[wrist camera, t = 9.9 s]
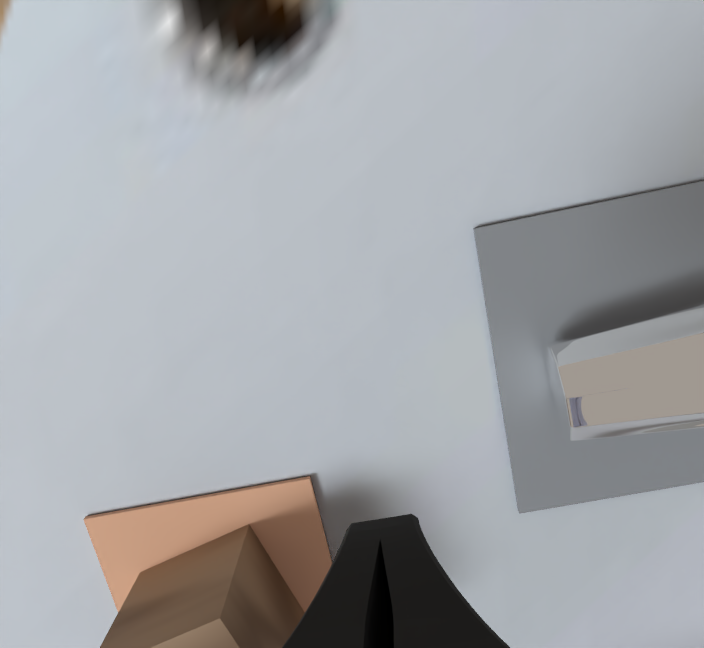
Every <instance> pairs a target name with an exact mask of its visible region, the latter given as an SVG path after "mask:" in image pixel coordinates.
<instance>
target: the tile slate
mask: <svg viewBox="0 0 704 648" xmlns="http://www.w3.org/2000/svg"><path fill="white" fill-rule="evenodd" d="M474 235H475V241H476V247H477V254H478V260H479V266H480V272H481V279H482V285H483V291H484V298H485V304H486V310H487V316H488V323H489V329H490V335H491V342H492V348H493V354H494V361H495V367H496V373H497V379H498V386H499V392H500V398H501V405H502V411H503V417H504V424H505V430H506V436H507V442H508V449H509V455H510V461H511V468H512V474H513V480H514V487H515V493H516V499H517V505H518V511H519V513H525V512H531V511H537V510H543V509H549V508H555V507H560V506H566V505H572V504H578V503H584V502H590V501H596V500H601V499H607V498H613V497H619V496H625V495H631V494H637V493H642V492H648V491H654V490H660V489H666V488H672V487H677V486H683V485H689V484H695V483H701V482H704V428H697V429H687V430H677V431H667V432H657V433H647V434H637V435H628V436H618V437H608V438H598V439H588V440H577V441H571V440H570V439H569V438H568V437H567V436H566V435H565V433H564V431H563V428H562V425H561V423H560V420H559V417H558V414H557V411H556V407H555V403H554V399H553V395H552V391H551V388H550V383H549V377H548V371H547V365H546V348H545V346H546V344H549V343H552V342H555V341H559V340H562V339H566V338H570V337H574V336H577V335H581V334H585V333H588V332H592V331H596V330H600V329H603V328H607V327H611V326H614V325H618V324H622V323H625V322H629V321H633V320H637V319H640V318H644V317H648V316H651V315H655V314H659V313H662V312H666V311H670V310H673V309H677V308H681V307H684V306H688V305H691V304H695V303H698V302H701V301H704V180H703V181H698V182H694V183H689V184H684V185H679V186H674V187H669V188H665V189H660V190H655V191H650V192H645V193H640V194H636V195H631V196H626V197H621V198H616V199H611V200H607V201H602V202H597V203H592V204H587V205H583V206H578V207H573V208H568V209H563V210H558V211H554V212H549V213H544V214H539V215H534V216H529V217H525V218H520V219H515V220H510V221H505V222H501V223H496V224H491V225H486V226H481V227H476V228H474Z"/></svg>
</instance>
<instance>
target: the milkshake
mask: <svg viewBox="0 0 704 648" xmlns="http://www.w3.org/2000/svg"><path fill="white" fill-rule="evenodd" d="M545 348H546V365H547V371H548V377H549V383H550V388H551V391H552V395H553V399H554V403H555V407H556V411H557V414H558V417H559V420H560V423H561V425H562V428H563V431H564V433H565V435H566V436H567V437H568V438H569V439H570V440H571V441H577V440H588V439H598V438H608V437H618V436H628V435H637V434H647V433H657V432H667V431H677V430H687V429H697V428H704V301H701V302H698V303H695V304H691V305H688V306H684V307H681V308H677V309H673V310H670V311H666V312H662V313H659V314H655V315H651V316H648V317H644V318H640V319H637V320H633V321H629V322H625V323H622V324H618V325H614V326H611V327H607V328H603V329H600V330H596V331H592V332H588V333H585V334H581V335H577V336H574V337H570V338H566V339H562V340H559V341H555V342H552V343H549V344H546V346H545Z"/></svg>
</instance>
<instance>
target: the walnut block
mask: <svg viewBox="0 0 704 648" xmlns="http://www.w3.org/2000/svg"><path fill="white" fill-rule="evenodd" d="M304 613H305V612H304V611H303V609H302V607H301V606H300V604H299V603H298V601H297V599H296V598H295V596H294V595H293V593H292V591H291V590H290V588H289V587H288V585H287V584H286V582H285V580H284V579H283V577H282V576H281V574H280V572H279V571H278V569H277V568H276V566H275V564H274V563H273V561H272V560H271V558H270V556H269V555H268V553H267V552H266V550H265V548H264V547H263V545H262V544H261V542H260V540H259V539H258V537H257V536H256V534H255V533H254V531H253V529H252V528H251V526H250V525H249V524H248V525H245V526H243V527H241V528H239V529H236V530H234V531H232V532H230V533H227V534H225V535H223V536H221V537H218V538H216V539H214V540H212V541H209V542H207V543H205V544H203V545H200V546H198V547H196V548H194V549H191V550H189V551H187V552H185V553H182V554H180V555H178V556H176V557H173V558H171V559H169V560H167V561H164V562H162V563H160V564H158V565H155V566H153V567H151V568H149V569H146V570H144V571H142V572H140V573H139V575H138V577H137V579H136V581H135V583H134V584H133V586H132V588H131V590H130V592H129V594H128V596H127V598H126V599H125V601H124V603H123V605H122V607H121V609H120V611H119V613H118V614H117V616H116V618H115V620H114V622H113V624H112V626H111V628H110V630H109V631H108V633H107V635H106V637H105V639H104V641H103V643H102V645H101V646H100V648H282V647H283V645H284V644H285V642H286V641H287V640H288V638H289V637H290V635H291V634H292V632H293V631H294V629H295V628H296V626H297V625H298V623H299V621H300V620H301V618H302V617H303V615H304Z"/></svg>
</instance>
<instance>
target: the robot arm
mask: <svg viewBox="0 0 704 648" xmlns="http://www.w3.org/2000/svg"><path fill="white" fill-rule="evenodd" d="M282 648H510V647H509V646H508V645H507V644H506V643H505V642H504V641H503V640H502V639H501V638H500V637H499V636H498V635H497V634H496V633H495V632H494V631H493V630H492V629H491V628H490V627H489V626H488V625H487V624H486V623H485V622H484V621H483V620H482V618H481V617H480V616H479V615H478V614H477V613H476V612H475V610H474V609H473V608H472V607H471V606H470V604H469V603H468V602H467V601H466V599H465V598H464V597H463V596H462V594H461V593H460V592H459V591H458V589H457V588H456V587H455V585H454V584H453V583H452V581H451V580H450V578H449V577H448V575H447V574H446V572H445V571H444V569H443V568H442V566H441V565H440V563H439V562H438V560H437V559H436V557H435V556H434V554H433V552H432V550H431V549H430V547H429V545H428V543H427V541H426V539H425V537H424V535H423V533H422V530H421V528H420V525H419V520H418V518H417V517H415V516H414V515H412V514H408V515H402V516H396V517H390V518H384V519H377V520H371V521H365V522H359V523H353V524H351V525H350V527H349V528H348V529H347V531H346V534H345V536H344V539H343V541H342V543H341V546H340V548H339V550H338V552H337V554H336V557H335V559H334V561H333V563H332V565H331V567H330V569H329V571H328V573H327V575H326V576H325V578H324V580H323V582H322V584H321V586H320V588H319V590H318V592H317V593H316V595H315V597H314V599H313V600H312V602H311V604H310V605H309V607H308V608H307V610H306V612H305V613H304V615H303V617H302V618H301V620H300V621H299V623H298V625H297V626H296V628H295V629H294V631H293V632H292V634H291V635H290V637H289V638H288V640H287V641H286V642H285V644H284V645H283V647H282Z"/></svg>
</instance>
